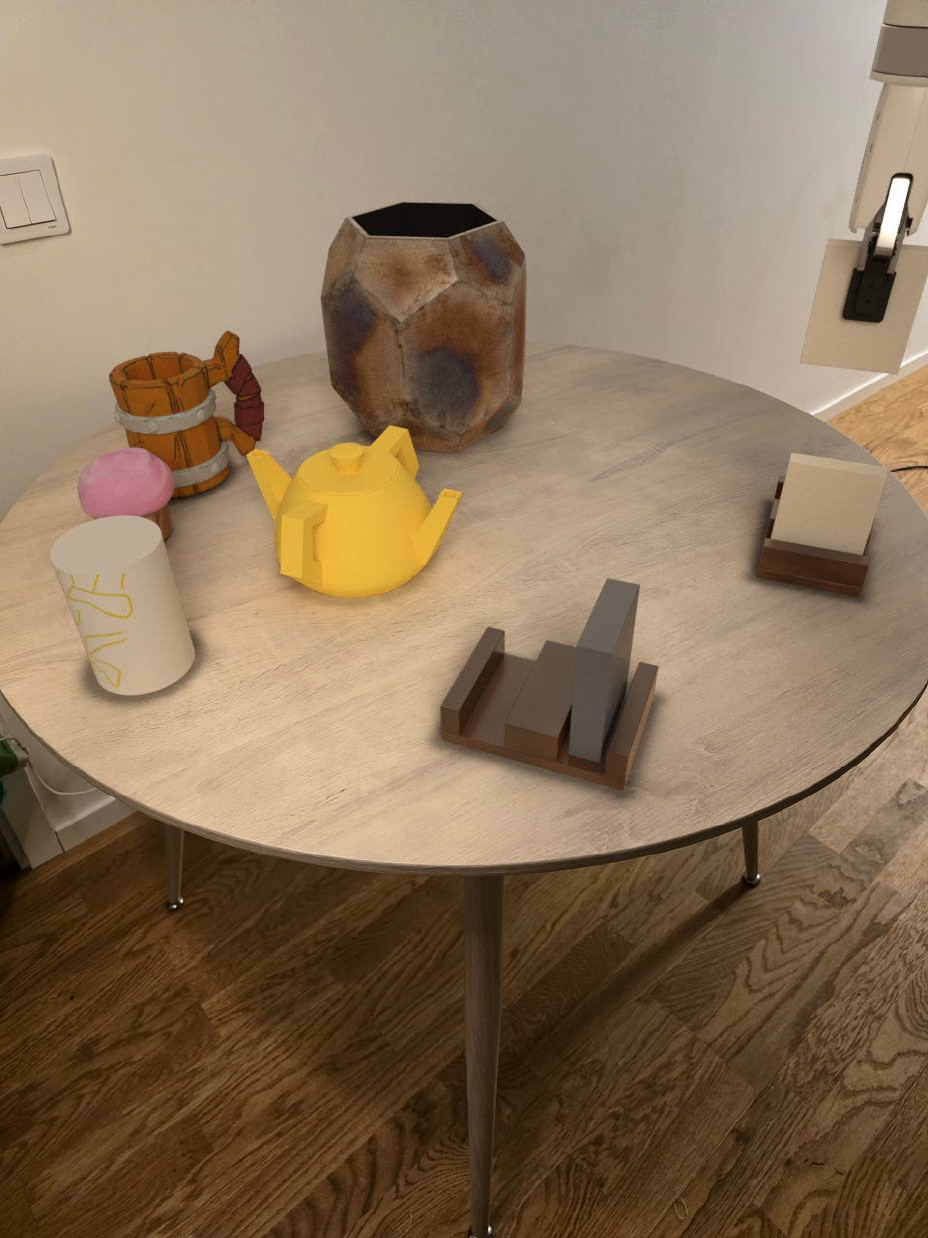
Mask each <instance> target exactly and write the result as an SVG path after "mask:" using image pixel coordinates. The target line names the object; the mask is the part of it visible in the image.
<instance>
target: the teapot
mask: <svg viewBox="0 0 928 1238" xmlns="http://www.w3.org/2000/svg"><path fill="white" fill-rule="evenodd" d="M246 458H247V462H248V463H249V466H250V468H251V470H252V473H253V475H254V478H255V480H256V483H257V485H258V487H259V490H260V492H261V495H262V497H263V498H264V501H265V504H266V505H267V508H268V510H269V513H270V515H271V517H272V520H273V522H274V525H275V526H274V549H275V555H276V558H277V561H278V562H279V564H280V571H279V572H280V574H279V575H284V576H287V577H290V578H292V579H294V580H295V581H296V582H299V583H300V584H301V585H303V586H305V587H306V588H308V589H310V590H312V591H315V592H316V593H320V594H323V595H325V596H330V597H335V598H345V599H356V598H357V599H358V598H359V599H360V598H368V597H373V596H378V595H382V594H385V593H387V592H392V591H393V590H395V589H398V588H400V587H401V586H403V585H405V584H406V583H408V582H409V581H411V580H412V579H413V578H414V577H415V576H416V575H418V573H420V571H421V570H423V568H424V567H425V566H426V565H427V564H428V563H429V561H430V560H431V559H432V557H433V556H434V554H435V553H436V552H437V551H438V549H439V548H440V546H441V544H442V541H443V539H444V537H445V535H446V532H447V530H448V528H449V527H450V524H451V521H452V519H453V517H454V515H455V513H456V511H457V508H458V506H459V503H460V502H461V499H462V497H463V492H462V491H460V490H459V491H458V490H454V489H450V488H444V489H443V490H442V491H441V492H440V493H439V494H438V499H437V501H436V502H435V503H434V505H433V507H432V506H431V503H430V502H429V500H428V499H429V498H428V497H427V495H426V494H425V492H424V490H423V488H422V487H421V485H420V484H419V482H418V481H417V480H416V476H417V474H418V471H419V468H420V464H419V461H418V458H417V454H416V450H414V448H413V444H412V441H411V438H410V435H409V432H408V429H404V428H400V427H396V426H391V425H389V427H388V428H387V429H386V430H385V431H384V432H383V433H382V434H381V435H380V436H379V437H378V438H377V440H376V439H375V440H374V441H373V442H372V443H371V445H369V446H368V445H362V444H360V443H357V442H341V443H338V444H335V445H333V446H331V447H330V448H327V449H324V450H322V451H319V452H317V453H314V454H313V455H311V456H310V457H308V458H307V459H305V460H304V462H302V463H301V465H300V466H299V467H298V469H297V470H296V471H295V474H294V475H293V477H291V476H290V475H289V474H288V473H287V472H286V470H285V469H283V467H282V466H281V465H280V464H279V463H278V462H277V461H276V460H275V459H274V458H273V456H271V454H270V452H269V451H266V450H262V449H257V448H255V450H253V451H252V452H250V453H248V454H247V456H246Z"/></svg>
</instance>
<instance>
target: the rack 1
mask: <svg viewBox="0 0 928 1238" xmlns="http://www.w3.org/2000/svg"><path fill="white" fill-rule="evenodd" d="M505 641H506V631H505V630H504V629H502V628H501V629H500V628H495V627H491V626H487V627H486V629H485V630H484V632H483V634H482V635H481V637H480V639H479V641H478V642H477V643H476V646H475V647H474V649H473V650H472V652H471V654H470V656H469V657H468V659H467V660H466V662H465V663H464V666H463V668H462V669H461V671H460V672H459V674H458V676H457V677H456V679H455V681H454V683H453V684H452V686H451V688H450V689H449V691H448V693H447V694H446V696H445V698H444V699H443V701H442V702H441V705H440V706H439V707H440V708H439V711H440V731H441V733H440V734H441V740H442V741H445V742H449V743H452V744H455V745H458V746H462V747H466V748H470V749H473V750H477V751H481V752H484V753H486V754H491V755H494V756H499V757H503V758H506V759H509V760H513V761H515V762H516V761H517V762H521V763H524V764H527V765H530V766H534V767H538V768H542V769H544V770H549V771H552V772H555V773H560V774H563V775H567V776H571V777H574V778H578V779H581V780H585V781H587V782H591V783H595V784H598V785H599V784H600V785H602V786H607V787H610V788H613V789H617V790H620V791H625V788H626V785H627V782H628V779H629V776H630V773H631V769H632V767H633V764H634V760H635V757H636V754H637V751H638V748H639V745H640V741H641V739H642V736H643V732H644V729H645V726H646V723H647V721H648V717H649V715H650V711H651V708H652V705H653V702H654V699H655V693H656V685H657V679H658V673H659V665H656V664H652V663H647V662H643V661H639V662H638V665H637V667H636V670H635V673H634V675H633V677H632V678H633V679H632V681H631V683H629V682H627V689H626V693H625V696H624V699H623V702H622V704H621V707H620V710H619V713H618V715H617V718H616V721H615V724H614V726H613V729H612V732H611V735H610V737H609V740H608V743H607V746H606V748H605V751H604V754H603V757H602V759H601V762H600V763H598V762H594V761H590V760H587V759H583V758H579V757H576V756H572V755H569V754H568V749H569V736H570V723H571V710H572V697H573V684H574V671H575V659H576V646H573V645H571V644H570V645H569V644H565V643H561V642H556V641H551V640H545V642H544V644H543V646H542V648H541V650H540V652H539V654H538V656H537V658H536V660H532V659H529V658H528V659H527V658H524V657H520V656H516V655H512V654H508V653H505V652H506V651H505V649H506V647H505V645H506V644H505Z"/></svg>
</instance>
